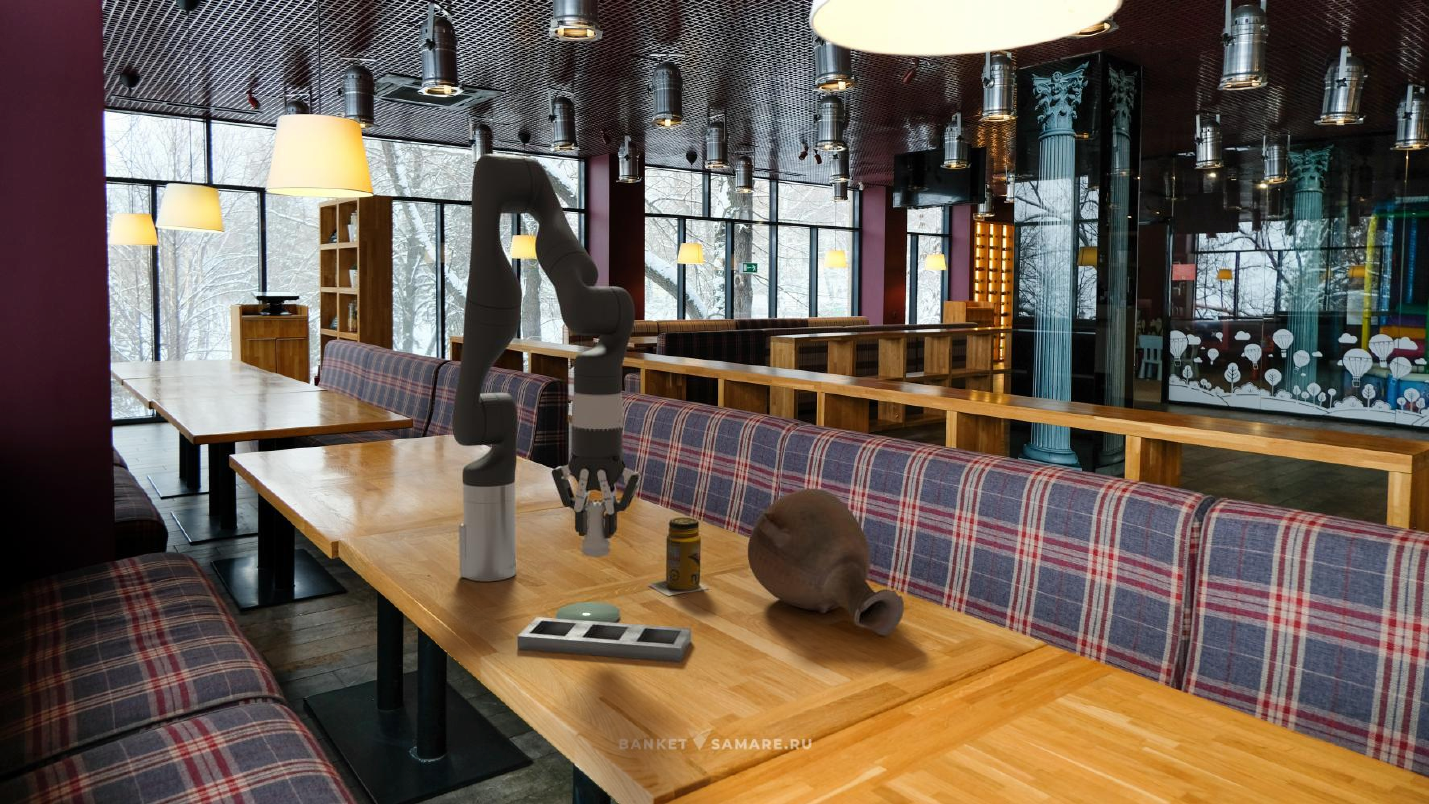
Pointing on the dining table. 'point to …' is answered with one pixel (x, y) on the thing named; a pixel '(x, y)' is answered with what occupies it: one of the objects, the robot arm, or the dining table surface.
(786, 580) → the jug
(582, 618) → the green dome
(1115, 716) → the dining table surface
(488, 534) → the robot arm
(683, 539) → the condiment
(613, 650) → the grey compartment tray
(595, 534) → the rook chess piece
